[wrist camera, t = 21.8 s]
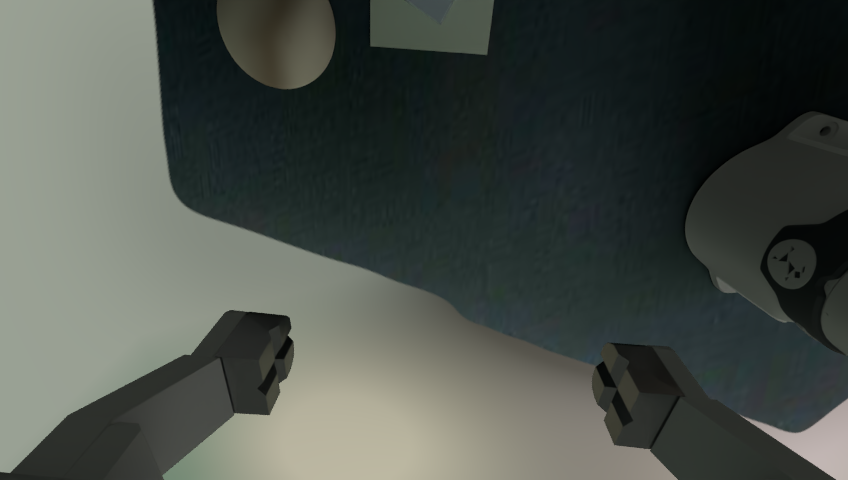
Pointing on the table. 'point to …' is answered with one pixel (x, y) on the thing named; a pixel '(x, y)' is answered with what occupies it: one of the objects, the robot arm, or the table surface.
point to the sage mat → (431, 27)
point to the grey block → (433, 8)
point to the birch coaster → (278, 38)
